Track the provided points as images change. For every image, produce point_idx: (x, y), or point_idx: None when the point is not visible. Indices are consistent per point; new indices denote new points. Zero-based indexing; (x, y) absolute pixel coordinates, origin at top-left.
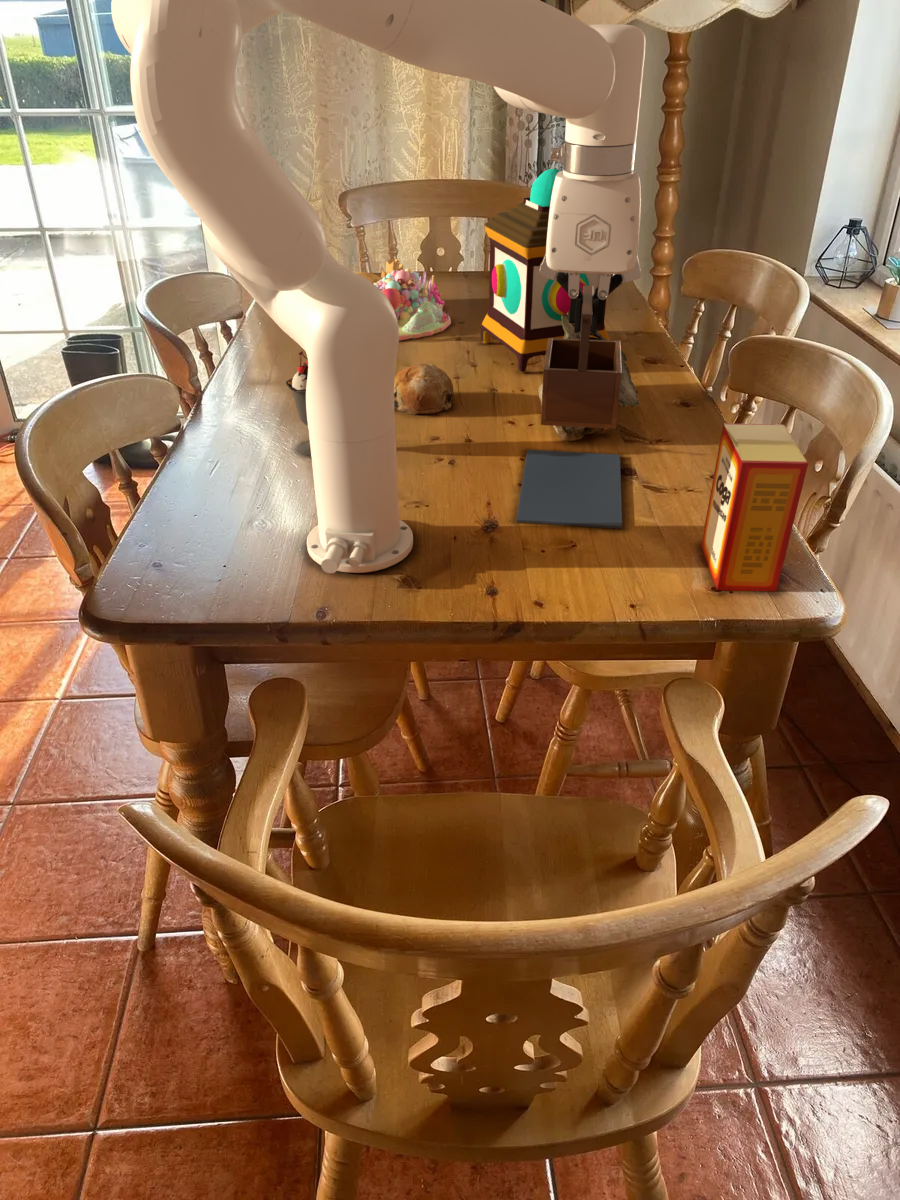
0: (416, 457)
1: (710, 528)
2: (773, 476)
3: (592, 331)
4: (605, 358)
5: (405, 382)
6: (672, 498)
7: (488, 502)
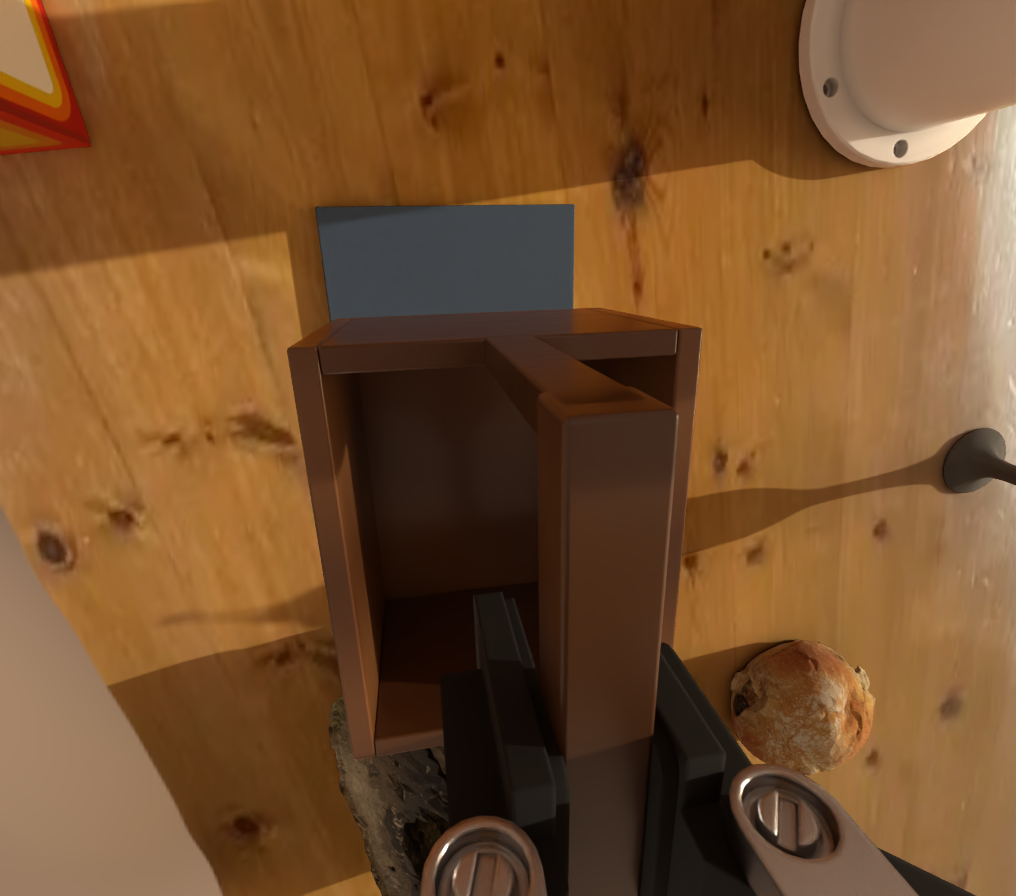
0: (789, 468)
1: (2, 42)
2: None
3: (498, 593)
4: (413, 675)
5: (853, 700)
6: (210, 392)
7: (638, 294)
